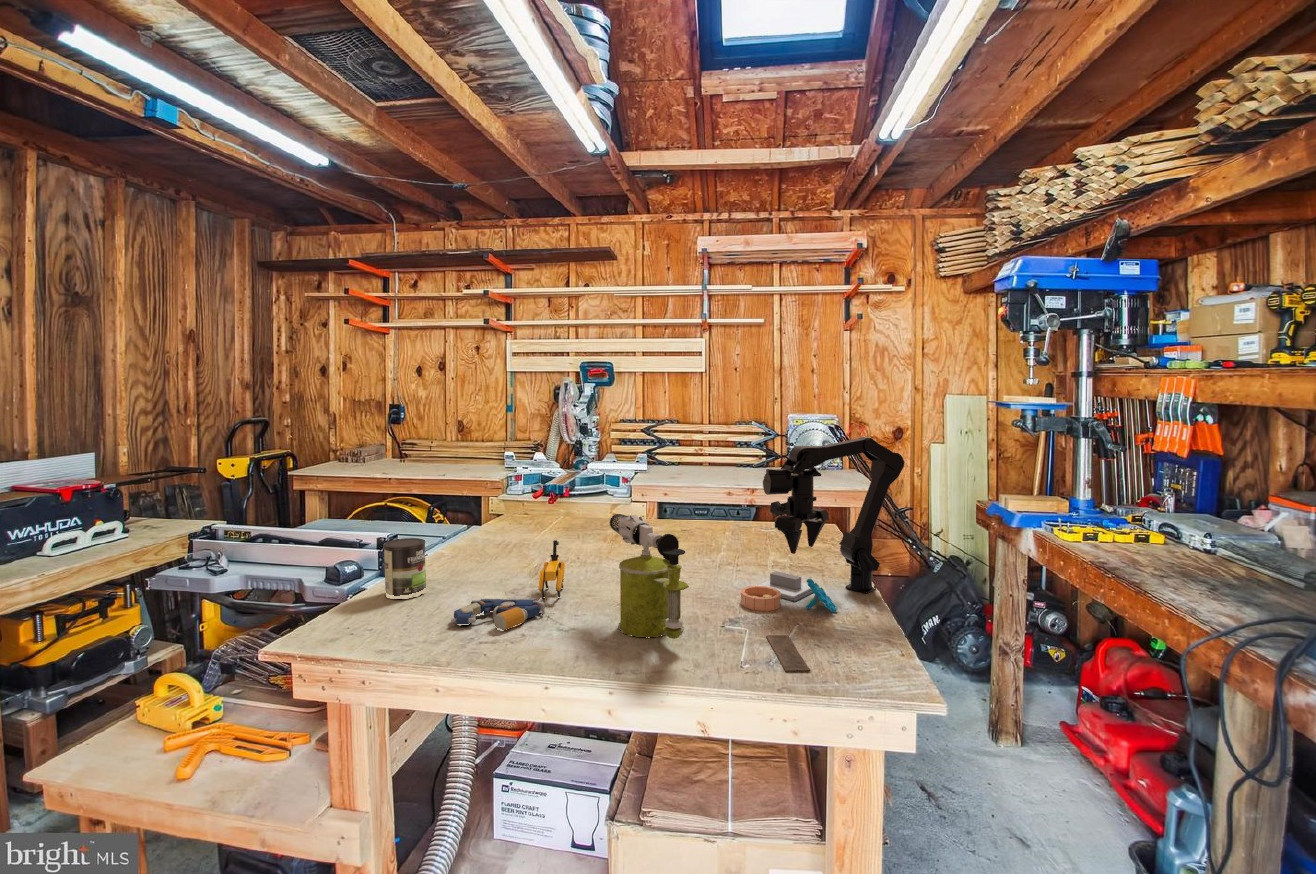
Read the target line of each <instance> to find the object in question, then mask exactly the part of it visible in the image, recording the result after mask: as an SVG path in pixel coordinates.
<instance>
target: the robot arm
mask: <svg viewBox="0 0 1316 874" xmlns="http://www.w3.org/2000/svg"><path fill="white" fill-rule="evenodd" d="M859 454H863V455H864V457H865V458H866V459H867V460H869V461H870V462H871V465H870V473H871V474H870V475H871V476H870V477H871V479H870V480H871V481H870V484H869V487H868V489H867V492H866V494H865V497H864V500H863V503H862V506H861V509H860V511H859V514H858V517H857V519H856V522H855V525H854V527H853V528H852V529H851V530H850V531H849V532H848V531H846V530H844V532H843V533H842V538H841V541H840V542H839V545H840V547H839V552H840V554H841V556H842V557H843V558H844V559H845V562H846V564H849V565H850V575H849V576H850V579H849V580H850V582H849V584H847V585H845V589H847V590H851V591H856V592H859V593H865V594H870V593H871V592H873V591H874V590H876V589H877V587H878V586H877V585H873V572H875V571H877V572H878V570H879V567H880V562H879V561H878V560H877V559H876V558H875V557H874V556H873V555H872V551H873V547H874V544H873V532H874V529H875V527H876V523H877V522H878V518H879V516H880V513H881V510H882V507H883V504H884V502H885V500H886V496H887V493H888V490H889V488H890V486H891V485H892V484H893V483H894V482H895V481H896V480H897V479H899V477H900V475H901V473H902V471H903V470H904V467H905V460H904V458H903V455H901V454H900V453H898V452H895V451H894V452H893V451H892V450H890V449H889V448H887V447H885V446H883V445H882V444H880V443H878V442H877V441H876V440H875V439H874V438H872V437H867V436H859V437H858V438H853V439H849V440H844V441H839V442H838V441H837V442H835V443H829V444H825V445H824V444H823V445H796V446H794V447H792V448H791V450H790V451H789V453H788V457H787V459H786V461H785V462H784V463H783V465H782V466H781V467H780V469H779V468H777V469H774V468H766V469H765V474H764V476H763V480H762V488H763V492H764V494H765V495H770V496H771V495H787V494H789V493H790V492H791V496H788V497H787V502H783V503H781V502H780V501H779V500H778V501H777V500H776V501H772V502H770V507H769V512H770V513H771V514H772V515H774V518H776V519H774V528H775V529H777V530H778V531H779V532H781V533H782V534H784V536H785V539H786V542H787V545H788V548H789V551H790V554H791V555H792V554H793V555H795V554H796V552H797V550H798V547H799V543H800V539H801V536H802V532H803V529H802V526H803V524H804V526H805V527H806V535H807V542H808V543H807V544H808V547H809V548H812V547H814V545H815V543H816V542H817V539H818V537H819V535H820V533H821V531H822V529H823V527H824V526H825V525H826V523H827V521H828V520H829V517H830V516H829V515H830V513H829V512H828V510H826V509H825V508H818V507H817V508H816V507H814V502H816V501H817V496H814V477H822V473H821V472H819V471H818V470H817V468H816V467H817V466H820V465H822V464H823V463H824V462H828V461H830V460H834V459H840V458H845V457H849V456H854V455H859ZM872 585H873V586H874V588H875V589H874V588H873V587H872Z"/></svg>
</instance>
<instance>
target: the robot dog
mask: <svg viewBox="0 0 1316 874" xmlns="http://www.w3.org/2000/svg"><path fill="white" fill-rule="evenodd" d="M552 543H553V544H552V554H550V556H549V557H550V559H549V561H544V563H543V569H541V570H540V572H539V580H538V590H539V592H541V598H543V597H545V598H546V595H545V589H546V588H548V589H549V585H548V582H549V581H550V582H552V581H554V582H555V581H556V585H555V590H556V592H557V598H558V597H560V596H561V591H562V590H561V588H563V589H564V581H565V571H566V563H565V561H561V559H560V558H559V556H560V555H559V554H557V546H559V545H560V544H559V541H558V540H556V539H555V540H553V541H552Z"/></svg>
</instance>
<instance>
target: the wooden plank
mask: <svg viewBox="0 0 1316 874" xmlns="http://www.w3.org/2000/svg"><path fill="white" fill-rule="evenodd" d="M765 637H766V639H767V642H768V643H769V645H770V647H771V649H772V651H773V653H774V654H775V656H776V657H777V659H778V661H779V663H780V664H781V666H782V668H783V670H784V672H785V673H810V672H812V670H811V669H810V667H809V666H808V664H807V663H806V661H805V660H804V658H803V657H802V655H801V653H800V652H799V651H798V649H797V647H796V645H795V643H794V642H793V640H792V639H791V638H790V636H789V635H788V634H781V635H775V634H774V635H772V634H771V635H767V634H766V636H765Z"/></svg>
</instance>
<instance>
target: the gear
mask: <svg viewBox="0 0 1316 874" xmlns="http://www.w3.org/2000/svg"><path fill="white" fill-rule="evenodd" d="M806 583H807V584H808V586H809V587H810V588H811V589H812V592H813V593H812V594H814V597H813V598H811V599H810V601H809V603H807V604H806V605H805V608H806V609H807V610H810V609H811V608H812V607H813V606H814V605H816V604H817V603H821V602H822V603H823V604H824V607H825V608H826V609H829V610H830V612H831V613H832V614H834V613H836V612H837V611H838V609H837V608H836V606H837V605H836V604H835V603H834V602H833V601H832V599H831V598H830V596H828V595H827V593H826V591H825V589H824V588H823V587H820V586H819V584H818V583H817V582H815V580H813V579H812V578H808V579H807V580H806ZM819 587H820V588H819Z"/></svg>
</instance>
